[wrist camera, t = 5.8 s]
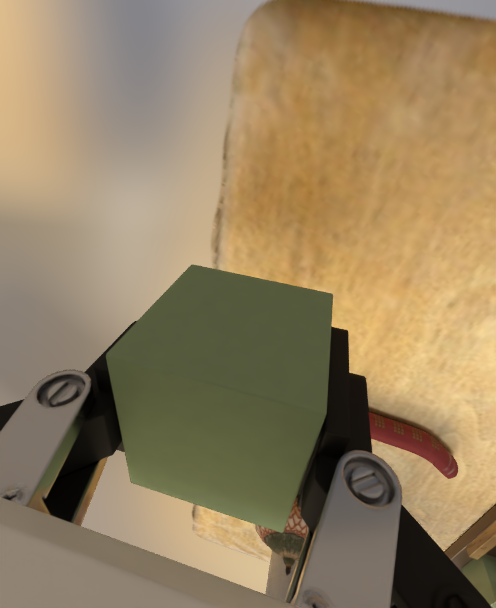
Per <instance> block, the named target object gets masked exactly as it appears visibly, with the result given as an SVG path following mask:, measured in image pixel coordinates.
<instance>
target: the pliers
mask: <svg viewBox="0 0 496 608" xmlns="http://www.w3.org/2000/svg"><path fill="white" fill-rule="evenodd" d="M369 421H370V433H371V439H374V440H377V441H380V442H383V443H386V444H389V445H392V446H395V447H398V448H401V449H404V450H407V451H410V452H412V453H415V454H417V455H419V456H421V457H423V458H425V459H426V460H428V461H429V462H431V463H432V464H433V465H434V466H435V467H436V468H437V469H438V470H439V471H440V472H441V473H442V474H443V475H444V476H445V477H447V478H448V479H450V478H453V477H455V476H456V475H457V473H458V465H457V462H456V460H455V459H454V457H453V456H452V455H451V454H450V453H449V452H448V451H447V450H446V449H445V448H444V447H443V446H442V445H441V444H440V443H439V442H438V441H437V440H436V439H435V438H434V437H432V436H431V435H429V434H427V433H425V432H423V431H421V430H419V429H417V428H414V427H412V426H409V425H406V424H403V423H400V422H397V421H394V420H391V419H388V418H385V417H382V416H379V415H376V414H373V413H370V412H369Z"/></svg>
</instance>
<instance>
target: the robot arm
mask: <svg viewBox="0 0 496 608" xmlns="http://www.w3.org/2000/svg"><path fill="white" fill-rule="evenodd" d="M150 308H151V307H150ZM136 322H137V321H135V322H134V323H132V324H131V325H130V326H129V327H128V328H127V329H126V330H125V331H124V332H123V333H122V334H121V335H120V336H119V337H118V339H116V341H115V342H114V343H113V344H112V345H111V346H110V347H109V348H108V349H107V350H106V351H105V352H104V353H103V354H102V355H101V356H100V357H99V358H98V359H97V360H96V361H95V362H94V363H93V364H92V365H91V366H90V367H89V368H88V369H87V370H86V371H85V372H82V371H78V370H63V371H59V372H55V373H53V374H51V375H48V376H46V377H45V378H44V379H42V380H40V381H39V382H38V383H37V385H35V386H34V388H33V389H32V390H31V392H30V393H29V394H28V396H27V397H26V398H25V399H23V400H20V401H17V402H14V403H10V404H6V405H3V406H0V608H492V607H491V606H490V604H489V603H488V602H487V600H486V599H485V598H484V597H483V596H482V595H481V593H480V592H479V591H478V590H477V589H476V588H475V587H474V586H473V584H472V583H471V582H470V581H469V580H468V579H467V578H466V577H465V575H464V574H463V573H462V572H461V571H460V570H459V569H458V567H457V566H456V565H455V564H454V563H453V562H452V561H451V560H450V558H449V557H448V556H447V555H446V554H445V553H444V552H443V550H442V549H441V548H440V547H439V546H438V545H437V544H436V543H435V541H434V540H433V539H432V538H431V537H430V536H429V535H428V534H427V532H426V531H425V530H424V529H423V528H422V527H421V526H420V524H419V523H418V522H417V521H416V520H415V519H414V518H413V517H412V515H411V514H410V513H409V512H408V511H407V510H406V509H405V507H404V506H403V505H402V504H401V502H402V489H401V485H400V482H399V480H398V477H397V475H396V474H395V472H394V471H393V470H392V468H391V467H390V466H389V465H388V464H387V463H386V462H385V461H384V460H383V459H381V458H379V457H378V456H376V455H375V454H372V445H371V433H370V421H369V408H368V396H367V384H366V378H365V376H361V375H357V374H353V373H349V344H348V330H343V329H339V328H334V327H331V341H330V360H329V378H328V397H327V414H326V417H325V419H324V422H323V425H322V428H321V430H320V433H319V436H318V439H317V441H316V444H315V447H314V450H313V452H312V455H311V458H310V461H309V463H308V466H307V469H306V472H305V474H304V477H303V480H302V483H301V485H300V488H299V491H298V494H297V495H298V501H297V507H298V508H301V513H300V515H301V517H302V519H303V520H304V522H305V523H306V525H307V526H308V531H307V534H306V537H305V540H304V543H303V546H302V549H301V552H300V556H299V559H298V562H297V565H296V568H295V571H294V574H293V577H292V580H291V583H290V586H289V589H288V592H287V595H286V598H285V601H281V600H279V599H276V598H273V597H271V596H268V595H265V594H263V593H260V592H257V591H254V590H252V589H249V588H246V587H243V586H241V585H238V584H236V583H233V582H230V581H228V580H225V579H222V578H219V577H217V576H214V575H212V574H209V573H206V572H203V571H201V570H198V569H196V568H193V567H190V566H187V565H185V564H182V563H179V562H177V561H174V560H171V559H168V558H166V557H163V556H160V555H158V554H155V553H152V552H149V551H147V550H144V549H141V548H139V547H136V546H133V545H130V544H128V543H125V542H122V541H119V540H117V539H114V538H111V537H109V536H106V535H103V534H100V533H98V532H95V531H92V530H89V529H87V528H84V527H81V524H82V522H83V519H84V517H85V514H86V512H87V509H88V507H89V504H90V502H91V499H92V497H93V494H94V491H95V489H96V486H97V484H98V481H99V479H100V476H101V474H102V471H103V469H104V466H105V464H106V461H107V458H108V457H109V456H111V455H113V454H114V452H115V451H116V450H119V451H122V452H125V450H124V445H123V440H122V435H121V430H120V425H119V420H118V415H117V410H116V405H115V400H114V395H113V390H112V385H111V380H110V375H109V370H108V365H107V360H106V354H107V352H108V351H109V350H110V349H111V348H112V347H113V346H114V345H115V344H116V343H117V342H118V341H119V340H120V339H121V338H122V337H123V336H124V335H125V334H126V333H127V332H128V331H129V329H130V328H131V327H132V326H133V325H134V324H135V323H136Z"/></svg>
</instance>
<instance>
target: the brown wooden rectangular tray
mask: <svg viewBox="0 0 496 608" xmlns="http://www.w3.org/2000/svg"><path fill="white" fill-rule="evenodd" d="M444 553H445V554H446V555H447V556H448V557H449V558H450V560H451V561H452V562H453V563H454V564H455V565H456V566H457V567H458V569H459V570H460V571H461V572H462V573H463V574H464V575H465V577H466V578H467V579H468V580H469V581H470V582H471V583H472V584H473V586H474V587H475V588H476V589H477V590H478V591H479V592H480V593H481V595H482V596H483V597H484V598H485V599H486V600H487V602H488V603H489V604H490V606H491V607H492V608H496V505H495V506H494V507H493V508H492V509H491V510H489V511H488V512H487V513H486V514H485V515H484V516H483V517H482V518H481V519H480V520H479V521H478V522H477V523H475V524H474V525H473V526H472V527H471V528H470V529H469V530H468V531H467V532H466V533H465V534H464V535H463V536H462V537H460V538H459V539H458V540H457V541H456V542H455V543H454V544H453V545H452V546H451V547H450V548H449V549H448V550H446V551H445V552H444Z"/></svg>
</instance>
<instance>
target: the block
mask: <svg viewBox="0 0 496 608" xmlns="http://www.w3.org/2000/svg"><path fill="white" fill-rule="evenodd" d="M332 305H333V294H331V293H326V292H321V291H316V290H312V289H307V288H302V287H297V286H293V285H288V284H283V283H278V282H274V281H269V280H264V279H259V278H254V277H250V276H245V275H240V274H235V273H231V272H226V271H221V270H216V269H212V268H207V267H202V266H197V265H191V266H190V267H189V268H188V269H187V270H186V271H185V272H184V273H183V274H182V275H181V276H180V277H179V278H178V280H176V281H175V283H174V284H173V285H172V286H171V287H170V288H169V289H168V290H167V291H166V292H165V293H164V294H163V295H162V296H161V297H160V298H159V299H158V300H157V301H156V302H155V303H154V304H153V305H152V306H151V308H150V309H149V310H148V311H147V312H146V313H145V314H144V315H143V316H142V317H141V318H140V319H139V320H138V321H137V322H136V323H135V324H134V325H133V326H132V327H131V328H130V329H129V331H128V332H127V333H126V334H125V335H124V336H123V337H122V338H121V339H120V340H119V341H118V342H117V343H116V344H115V345H114V346H113V347H112V348H111V349H110V350H109V351H108V352H107V354H106V360H107V365H108V370H109V375H110V380H111V385H112V390H113V395H114V400H115V405H116V410H117V415H118V420H119V425H120V430H121V435H122V440H123V445H124V450H125V456H126V460H127V466H128V470H129V476H130V480H131V483H134V484H137V485H139V486H143V487H146V488H149V489H151V490H155V491H158V492H161V493H164V494H166V495H170V496H172V497H175V498H179V499H181V500H185V501H188V502H190V503H193V504H196V505H199V506H202V507H205V508H208V509H211V510H214V511H217V512H220V513H223V514H226V515H229V516H232V517H235V518H238V519H241V520H244V521H247V522H250V523H253V524H256V525H259V526H262V527H265V528H268V529H271V530H274V531H277V532H280V533H283V532H284V529H285V527H286V524H287V521H288V518H289V516H290V513H291V510H292V507H293V505H294V502H295V499H296V496H297V494H298V491H299V488H300V485H301V483H302V480H303V477H304V474H305V472H306V469H307V466H308V463H309V461H310V458H311V455H312V452H313V450H314V447H315V444H316V441H317V439H318V436H319V433H320V430H321V428H322V425H323V422H324V419H325V417H326V414H327V397H328V378H329V360H330V341H331V323H332Z"/></svg>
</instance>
